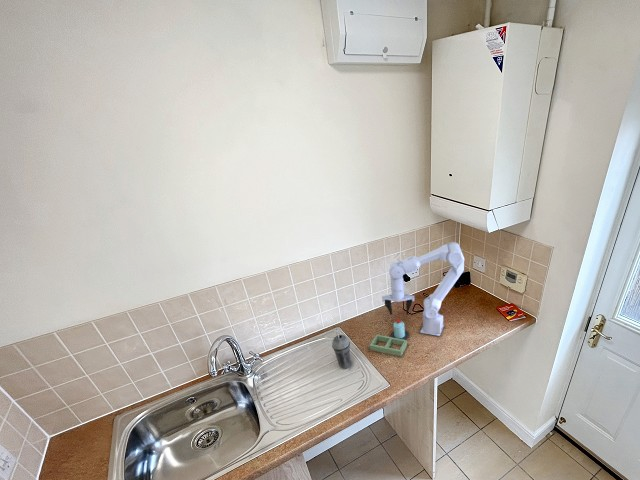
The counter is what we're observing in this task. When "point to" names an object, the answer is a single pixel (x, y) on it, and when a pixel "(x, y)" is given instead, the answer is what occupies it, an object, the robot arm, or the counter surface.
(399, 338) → the coaster
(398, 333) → the bottle
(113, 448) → the counter surface
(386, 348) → the bottle rack
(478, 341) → the counter surface
